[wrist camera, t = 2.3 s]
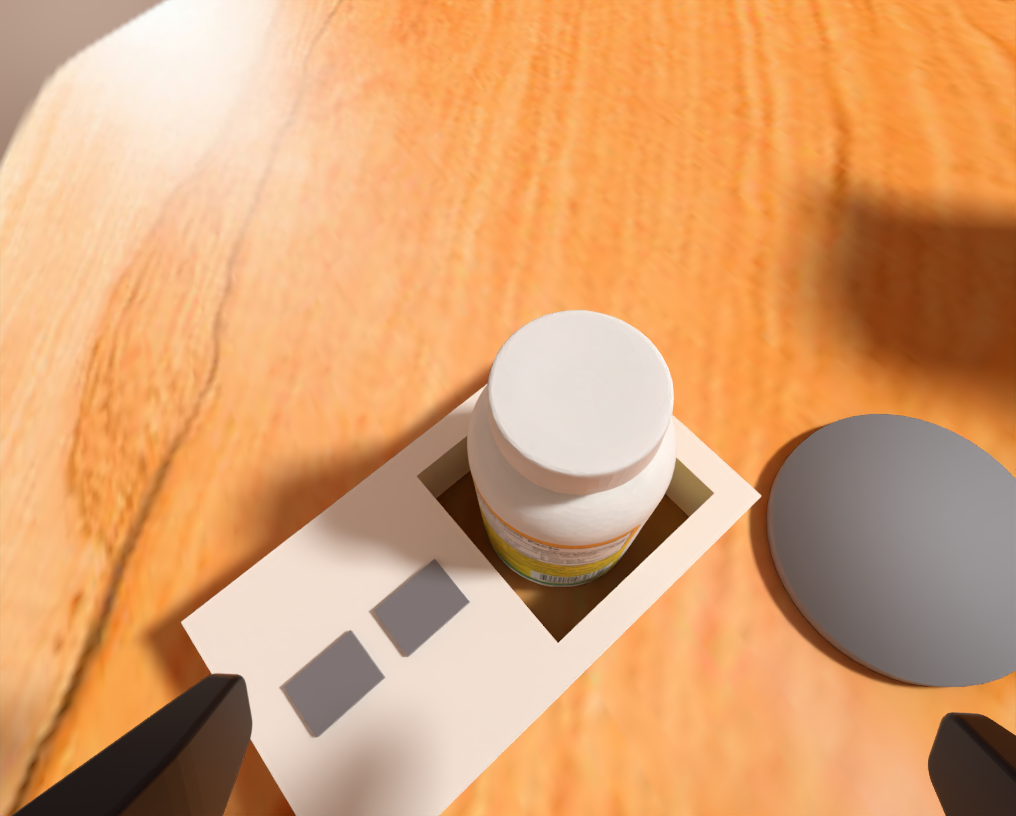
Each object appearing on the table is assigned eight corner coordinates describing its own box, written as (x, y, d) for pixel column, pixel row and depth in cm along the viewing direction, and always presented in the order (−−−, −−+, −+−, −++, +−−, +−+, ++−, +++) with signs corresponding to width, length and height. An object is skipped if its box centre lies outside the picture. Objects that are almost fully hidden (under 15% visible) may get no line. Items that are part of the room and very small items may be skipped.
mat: (945, 755, 18) (958, 757, 18) (712, 529, 21) (717, 525, 21) (1099, 553, 20) (1115, 550, 20) (868, 376, 23) (876, 368, 23)
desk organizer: (376, 871, 17) (346, 907, 14) (227, 631, 20) (176, 621, 17) (732, 521, 21) (763, 493, 18) (564, 362, 24) (569, 317, 21)
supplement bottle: (565, 624, 20) (593, 571, 11) (451, 514, 22) (399, 395, 13) (666, 506, 22) (759, 381, 13) (552, 413, 23) (566, 245, 15)
